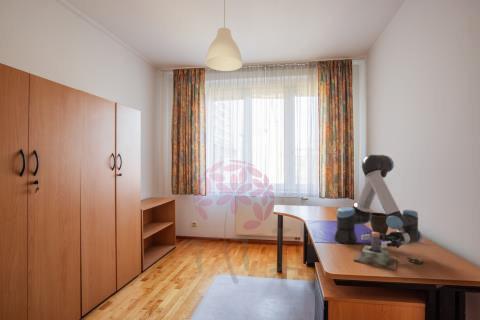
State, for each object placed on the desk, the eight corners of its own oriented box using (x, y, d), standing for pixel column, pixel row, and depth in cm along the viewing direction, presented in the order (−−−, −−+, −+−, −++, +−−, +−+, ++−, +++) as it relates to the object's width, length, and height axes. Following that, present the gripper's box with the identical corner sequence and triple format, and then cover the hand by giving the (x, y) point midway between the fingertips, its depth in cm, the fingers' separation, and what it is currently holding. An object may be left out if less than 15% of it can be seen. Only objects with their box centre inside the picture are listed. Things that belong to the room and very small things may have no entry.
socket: (353, 261, 138) (353, 250, 138) (358, 252, 151) (358, 243, 151) (395, 270, 126) (395, 259, 126) (397, 260, 139) (397, 250, 139)
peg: (370, 259, 138) (371, 232, 138) (371, 257, 141) (372, 231, 141) (378, 261, 136) (379, 234, 136) (379, 258, 139) (379, 232, 139)
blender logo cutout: (404, 258, 144) (404, 257, 144) (418, 259, 143) (418, 258, 143) (412, 264, 135) (412, 263, 135) (428, 266, 133) (428, 264, 133)
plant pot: (391, 239, 179) (391, 217, 179) (368, 236, 186) (369, 215, 186) (389, 234, 193) (389, 213, 193) (368, 231, 199) (368, 211, 200)
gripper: (420, 251, 133) (391, 255, 126) (380, 237, 156) (354, 241, 149) (420, 237, 133) (391, 241, 126) (380, 226, 156) (354, 228, 149)
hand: (371, 241), depth 137 cm, fingers open, 13 cm apart
